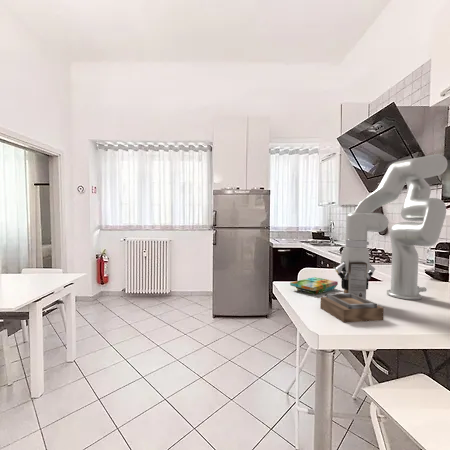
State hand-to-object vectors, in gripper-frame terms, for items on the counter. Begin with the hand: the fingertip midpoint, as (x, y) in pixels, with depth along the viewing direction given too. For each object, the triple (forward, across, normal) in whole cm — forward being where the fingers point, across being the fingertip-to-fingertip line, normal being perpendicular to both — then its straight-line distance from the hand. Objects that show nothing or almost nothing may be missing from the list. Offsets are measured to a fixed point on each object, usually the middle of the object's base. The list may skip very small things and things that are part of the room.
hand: (354, 288), depth 109 cm
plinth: (+5, +11, +13) cm, 18 cm away
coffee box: (+5, 0, 0) cm, 5 cm away
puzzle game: (+6, +7, -19) cm, 21 cm away
